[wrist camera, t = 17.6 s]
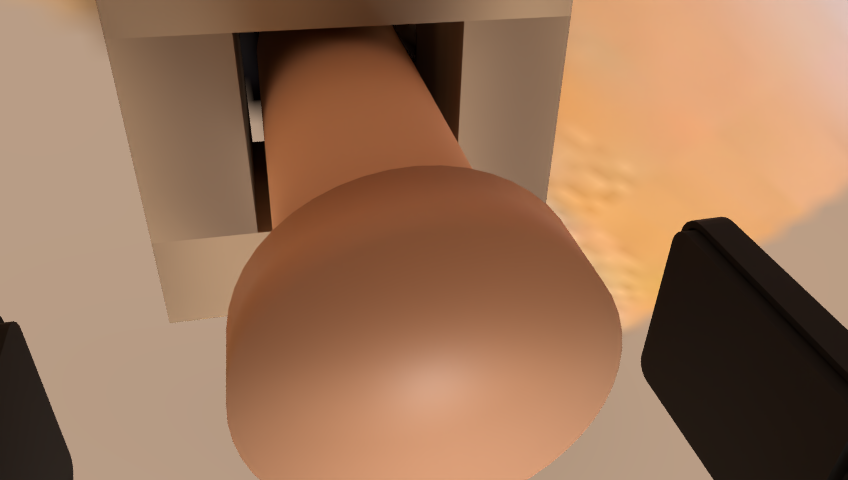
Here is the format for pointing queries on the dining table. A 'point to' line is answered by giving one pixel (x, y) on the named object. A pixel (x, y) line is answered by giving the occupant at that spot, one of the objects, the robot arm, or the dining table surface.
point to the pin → (402, 288)
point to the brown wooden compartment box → (245, 160)
